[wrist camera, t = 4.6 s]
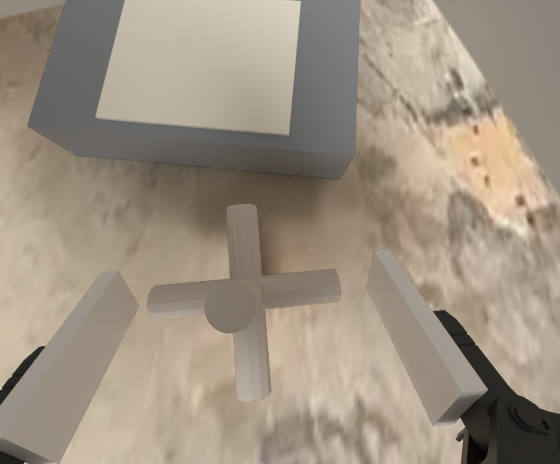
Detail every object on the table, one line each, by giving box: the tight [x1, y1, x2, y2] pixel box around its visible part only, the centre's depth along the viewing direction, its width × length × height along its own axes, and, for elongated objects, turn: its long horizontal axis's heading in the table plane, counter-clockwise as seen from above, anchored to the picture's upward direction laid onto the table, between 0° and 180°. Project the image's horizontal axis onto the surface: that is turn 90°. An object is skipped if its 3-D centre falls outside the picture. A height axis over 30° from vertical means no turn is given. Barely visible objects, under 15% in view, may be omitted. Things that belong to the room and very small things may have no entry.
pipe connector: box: [147, 204, 341, 402], centre depth 13 cm, size 10×10×10 cm
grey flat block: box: [28, 0, 360, 179], centre depth 19 cm, size 22×13×4 cm, turn 85°
